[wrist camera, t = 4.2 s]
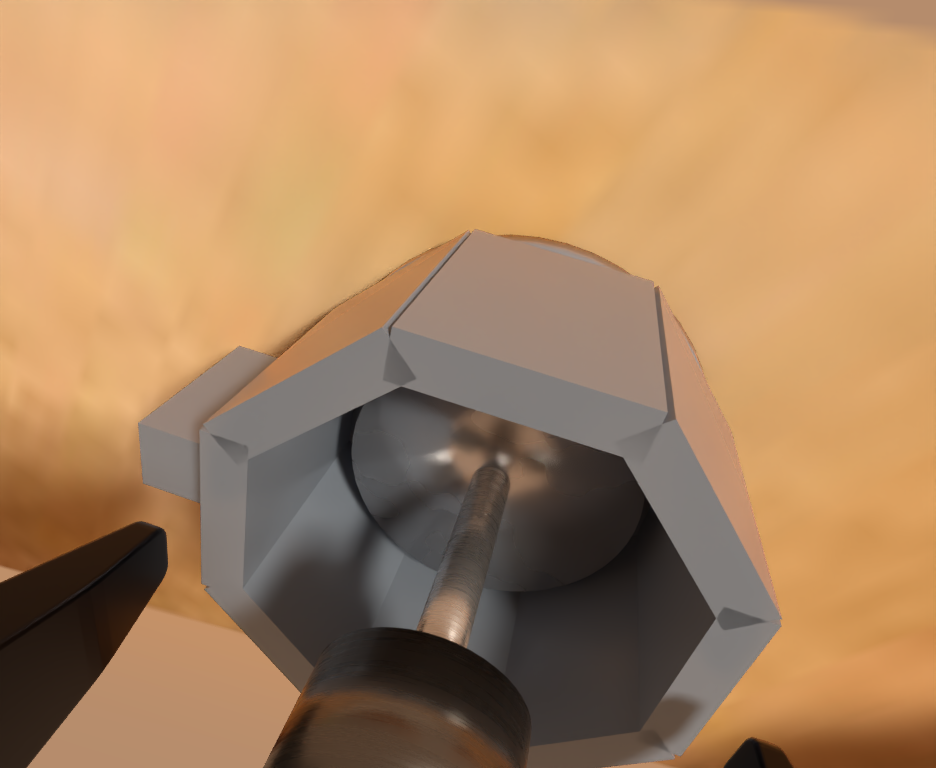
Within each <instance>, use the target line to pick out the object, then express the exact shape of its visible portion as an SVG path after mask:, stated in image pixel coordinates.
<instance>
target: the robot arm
mask: <svg viewBox="0 0 936 768" xmlns="http://www.w3.org/2000/svg"><path fill="white" fill-rule="evenodd" d="M167 567H168V554H167V537H166V532H165V531H164V529H162V528H160V527H157V526H155V525H152V524H149V523H146V522H135V523H132V524H130V525H128V526H125V527H123V528H121V529H119V530H116V531H114V532H112V533H110V534H108V535H105V536H103V537H101V538H99V539H96V540H94V541H92V542H90V543H87V544H85V545H83V546H81V547H79V548H76V549H74V550H72V551H70V552H67V553H65V554H63V555H61V556H59V557H56V558H54V559H52V560H50V561H47V562H45V563H43V564H41V565H38V566H36V567H34V568H32V569H30V570H27V571H25V572H23V573H21V574H18V575H16V576H14V577H12V578H10V579H7V580H5V581H3V582H1V583H0V768H27V767H28V765H29V764H30V763H31V762H32V760H33V759H34V758H35V757H36V755H37V754H38V753H39V751H40V750H41V749H42V748H43V746H44V745H45V744H46V743H47V741H48V740H49V739H50V738H51V736H52V735H53V734H54V733H55V731H56V730H57V729H58V728H59V726H60V725H61V724H62V723H63V721H64V720H65V719H66V718H67V716H68V715H69V714H70V713H71V711H72V710H73V708H74V707H75V706H76V705H77V704H78V702H79V701H80V700H81V699H82V697H83V696H84V695H85V694H86V692H87V691H88V690H89V689H90V687H91V686H92V684H94V682H95V681H96V680H97V678H98V677H99V676H100V674H101V673H102V672H103V670H104V669H105V667H106V666H107V664H108V663H109V662H110V660H111V659H112V657H113V656H114V654H115V653H116V651H117V650H118V648H119V646H120V645H121V643H122V642H123V640H124V639H125V637H126V636H127V634H128V632H129V631H130V630H131V628H132V626H133V625H134V623H135V622H136V620H137V619H138V617H139V616H140V614H141V612H142V611H143V609H144V608H145V606H146V605H147V603H148V602H149V600H150V599H151V597H152V596H153V594H154V593H155V591H156V589H157V588H158V586H159V585H160V583H161V582H162V580H163V578H164V576H165V574H166V571H167ZM724 768H794V767H793V765H792V764H791V762H790V760H789V759H788V757H787V755H786V754H785V753H784V751H783V750H782V749H781V748H780V747H778V746H776V745H774V744H772V743H769V742H766V741H763V740H760V739H757V738H754V737H751V738H748V739H746V740H745V741H744V743H743V744H742V745H741V746H740V747H739V748H738V750H737V751H736V752H735V753H734V754H733V756H732V757H731V758H730V759H729V760H728V761H727V763H726V764H725V766H724Z"/></svg>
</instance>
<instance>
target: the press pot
mask: <svg viewBox="0 0 936 768" xmlns="http://www.w3.org/2000/svg"><path fill="white" fill-rule="evenodd" d="M401 386H402V387H405V388H408V389H411V390H415V391H418V392H421V393H424V394H427V395H430V396H433V397H436V398H440V399H443V400H446V401H449V402H452V403H455V404H458V405H461V406H465V407H468V408H471V409H474V410H477V411H480V412H483V413H486V414H490V415H493V416H496V417H499V418H502V419H505V420H508V421H511V422H515V423H518V424H521V425H524V426H527V427H530V428H533V429H536V430H540V431H543V432H546V433H549V434H552V435H555V436H558V437H561V438H565V439H568V440H571V441H574V442H577V443H580V444H583V445H586V446H589V447H593V448H596V449H599V450H602V451H605V452H608V453H611V454H614V455H618V456H621V457H623V458H624V460H625V461H626V463H627V465H628V467H629V468H630V470H631V472H632V473H633V475H634V477H635V479H636V480H637V482H638V484H639V486H640V487H641V489H642V491H643V493H644V494H645V496H644V504H643V509H642V513H641V517H640V520H639V522H638V525H637V527H636V529H635V531H634V533H633V535H632V536H631V538H630V540H629V541H628V543H627V544H626V545H625V547H624V548H623V549H622V550H621V551H620V552H619V554H618V555H617V556H616V557H615V558H613V559H612V560H611V561H610V562H609V563H608V564H606V565H605V566H604V567H602V568H601V569H599V570H598V571H596V572H594V573H593V574H591V575H589V576H587V577H585V578H583V579H581V580H578V581H576V582H573V583H570V584H567V585H564V586H561V587H556V588H551V589H546V590H537V591H503V590H493V589H488V588H483V590H482V594H481V598H480V601H479V605H478V609H477V613H476V616H475V620H474V624H473V627H472V631H471V635H470V639H469V642H468V646H467V649H469V650H471V651H473V652H474V653H476V654H477V655H479V656H481V657H482V658H484V659H485V660H487V661H488V662H489V663H491V664H492V665H493V666H495V667H496V668H497V669H498V670H499V671H501V672H502V673H503V674H504V675H505V676H506V677H507V678H508V679H509V680H510V681H511V683H512V684H513V685H514V686H515V687H516V688H517V690H518V691H519V693H520V694H521V696H522V697H523V699H524V701H525V703H526V705H527V707H528V710H529V713H530V717H531V724H532V732H531V739H530V746H529V753H528V760H527V767H526V768H602V767H611V766H619V765H628V764H637V763H646V762H654V761H663V760H672V759H675V755H678V756H681V755H682V754H683V753H684V752H685V750H686V749H687V748H688V746H689V745H690V744H691V742H692V741H693V740H694V739H695V737H696V736H697V735H698V733H699V732H700V731H701V729H702V728H703V727H704V726H705V724H706V723H707V722H708V720H709V719H710V718H711V717H712V715H713V714H714V713H715V711H716V710H717V709H718V707H719V706H720V705H721V704H722V702H723V701H724V700H725V698H726V697H727V696H728V694H729V693H730V692H731V691H732V689H733V688H734V687H735V685H736V684H737V683H738V682H739V680H740V679H741V678H742V676H743V675H744V674H745V672H746V671H747V670H748V669H749V667H750V666H751V665H752V663H753V662H754V661H755V660H756V658H757V657H758V656H759V654H760V653H761V652H762V650H763V649H764V648H765V647H766V645H767V644H768V643H769V641H770V640H771V639H772V637H773V636H774V635H775V634H776V632H777V631H778V630H779V628H780V627H781V622H780V619H782V617H781V613H780V610H779V606H778V602H777V599H776V595H775V591H774V588H773V584H772V580H771V576H770V573H769V569H768V565H767V562H766V558H765V554H764V551H763V547H762V543H761V539H760V536H759V532H758V528H757V525H756V521H755V517H754V514H753V510H752V506H751V503H750V499H749V495H748V491H747V488H746V484H745V480H744V477H743V473H742V469H741V466H740V462H739V458H738V454H737V451H736V447H735V443H734V440H733V436H732V432H731V430H730V428H729V426H728V424H727V422H726V420H725V418H724V416H723V414H722V412H721V410H720V408H719V406H718V404H717V402H716V400H715V398H714V396H713V394H712V392H711V390H710V388H709V386H708V384H707V382H706V380H705V378H704V373H703V369H702V366H701V364H700V361H699V359H698V356H697V354H696V351H695V349H694V346H693V344H692V342H691V341H690V339H689V337H688V336H687V334H686V332H685V331H684V329H683V327H682V326H681V324H680V322H679V321H678V320H677V319H676V317H675V316H674V315H673V313H672V311H671V309H670V307H669V305H668V303H667V301H666V299H665V297H664V295H663V293H662V291H661V289H660V287H659V286H657V287H655V288H654V283H653V281H650V280H647V279H643V278H640V277H637V276H633V275H631V274H629V273H628V272H626V271H625V270H624V269H622V268H621V267H619V266H617V265H615V264H613V263H612V262H610V261H608V260H606V259H604V258H602V257H600V256H598V255H596V254H594V253H592V252H589V251H586V250H583V249H581V248H578V247H575V246H572V245H570V244H567V243H562V242H558V241H553V240H549V239H545V238H540V237H531V236H520V235H493V234H490V233H487V232H483V231H480V230H476V229H475V230H474V231H473V232H472V233H470V232H469V230H467V231H466V232H464V233H462V234H461V235H459V236H457V237H455V238H454V239H452V240H450V241H449V242H447V243H445V244H443V245H442V246H439V247H436V248H432V249H430V250H428V251H426V252H424V253H422V254H420V255H418V256H416V257H414V258H412V259H410V260H409V261H407V262H406V263H404V264H403V265H401V266H400V267H398V268H397V269H395V270H394V271H393V272H391V273H390V274H389V275H388V276H387V277H386V278H385V279H383V280H382V281H380V282H378V283H377V284H375V285H373V286H372V287H370V288H368V289H366V290H365V291H363V292H361V293H360V294H358V295H356V296H354V297H353V298H351V299H349V300H348V301H346V302H344V303H342V304H341V305H339V306H337V307H336V308H334V309H333V310H332V311H331V312H330V313H329V314H327V315H326V316H325V317H324V318H323V319H322V320H321V321H319V322H318V323H317V324H316V325H315V326H314V327H313V328H312V329H310V330H309V331H308V332H307V333H306V334H305V335H304V336H302V337H301V338H300V339H299V340H298V341H297V342H296V343H294V344H293V345H292V346H291V347H290V348H289V349H288V350H287V351H285V352H284V353H283V354H282V355H281V356H280V357H279V358H275V357H272V356H269V355H266V354H263V353H260V352H257V351H254V350H251V349H248V348H244V347H241V346H239V347H237V348H236V349H235V350H233V351H232V352H231V353H230V354H228V355H227V356H226V357H224V358H223V359H222V360H220V361H219V362H218V363H216V364H215V365H214V366H212V367H211V368H210V369H208V370H207V371H206V372H205V373H203V374H202V375H201V376H199V377H198V378H197V379H195V380H194V381H193V382H191V383H190V384H189V385H187V386H186V387H185V388H184V389H182V390H181V391H180V392H178V393H177V394H176V395H174V396H173V397H172V398H170V399H169V400H168V401H166V402H165V403H164V404H163V405H161V406H160V407H159V408H157V409H156V410H155V411H153V412H152V413H151V414H149V415H148V416H147V417H145V418H144V419H143V420H141V421H140V422H139V423H138V426H139V439H140V452H141V464H142V477H143V484H146V485H149V486H152V487H155V488H158V489H161V490H163V491H166V492H169V493H172V494H175V495H178V496H181V497H184V498H186V499H189V500H192V501H195V502H198V503H200V510H201V584H204V585H206V588H205V589H204V590H205V591H206V592H207V593H208V594H209V595H210V596H211V597H212V598H213V599H214V600H215V601H216V602H217V604H218V605H219V606H220V607H221V608H222V609H223V610H224V611H225V612H226V613H227V614H228V615H229V616H230V617H231V619H232V620H233V621H234V622H235V623H236V624H237V625H238V626H239V627H240V628H241V629H242V630H243V631H244V632H245V634H246V635H247V636H248V637H249V638H250V639H251V640H252V641H253V642H254V643H255V644H256V645H257V646H258V647H259V648H260V650H261V651H262V652H263V653H264V654H265V655H266V656H267V657H268V658H269V659H270V660H271V661H272V662H273V664H274V665H275V666H276V667H277V668H278V669H279V670H280V671H281V672H282V673H283V674H284V675H285V676H286V677H287V678H288V680H289V681H290V682H291V683H292V684H293V685H294V686H295V687H296V688H297V689H298V690H299V691H300V692H302V690H303V688H304V686H305V685H306V683H307V681H308V679H309V677H310V675H311V673H312V671H313V669H314V667H315V665H316V663H317V661H318V659H319V657H320V655H321V653H322V652H323V650H324V649H325V648H326V647H327V646H328V645H329V644H330V643H331V642H333V641H334V640H335V639H337V638H339V637H341V636H342V635H344V634H347V633H350V632H353V631H356V630H361V629H366V628H375V627H397V628H405V629H412V630H416V629H417V626H418V623H419V621H420V618H421V615H422V613H423V610H424V607H425V604H426V602H427V599H428V596H429V593H430V591H431V588H432V585H433V582H434V580H435V577H436V574H437V571H435V570H433V569H431V568H429V567H427V566H426V565H424V564H423V563H421V562H420V561H418V560H416V559H415V558H413V557H412V556H411V555H409V554H408V553H407V552H406V551H404V550H403V549H402V548H400V547H399V546H398V545H397V544H396V543H395V542H394V541H393V540H392V539H391V538H390V537H389V536H388V535H387V534H386V533H385V532H384V530H383V529H382V528H381V527H380V526H379V525H378V523H377V522H376V520H375V519H374V517H373V516H372V515H371V513H370V512H369V510H368V508H367V506H366V504H365V502H364V501H363V499H362V497H361V494H360V491H359V489H358V486H357V483H356V480H355V475H354V471H353V465H352V439H353V434H354V429H355V425H356V422H357V419H358V417H359V414H360V412H361V410H362V408H363V406H364V405H365V403H367V402H369V401H371V400H374V399H376V398H378V397H380V396H382V395H384V394H386V393H388V392H390V391H392V390H394V389H397V388H399V387H401ZM674 754H675V755H674Z"/></svg>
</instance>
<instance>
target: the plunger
mask: <svg viewBox="0 0 936 768" xmlns="http://www.w3.org/2000/svg"><path fill="white" fill-rule="evenodd" d="M352 465H353V471H354V475H355V480H356V483H357V486H358V489H359V491H360V494H361V497H362V499H363V501H364V502H365V504H366V506H367V508H368V510H369V512H370V513H371V515H372V516H373V517H374V519H375V520H376V522H377V523H378V525H379V526H380V527H381V528H382V529H383V530H384V532H385V533H386V534H387V535H388V536H389V537H390V538H391V539H392V540H393V541H394V542H395V543H396V544H397V545H398V546H399V547H400V548H402V549H403V550H404V551H406V552H407V553H408V554H409V555H411V556H412V557H413V558H415V559H416V560H418V561H420V562H421V563H423V564H424V565H426V566H427V567H429V568H431V569H433V570H435V571H437V574H436V577H435V580H434V582H433V585H432V588H431V591H430V593H429V596H428V599H427V602H426V604H425V607H424V610H423V613H422V615H421V618H420V621H419V623H418V626H417V629H416V630H412V629H405V628H397V627H375V628H366V629H361V630H356V631H353V632H350V633H347V634H344V635H342V636H341V637H339V638H337V639H335V640H334V641H333V642H331V643H330V644H329V645H328V646H327V647H326V648H325V649H324V650H323V652H322V653H321V655H320V657H319V659H318V661H317V663H316V665H315V667H314V669H313V671H312V673H311V675H310V677H309V679H308V681H307V683H306V685H305V686H304V688H303V690H302V692H301V694H300V696H299V698H298V700H297V702H296V704H295V706H294V708H293V710H292V712H291V714H290V716H289V718H288V720H287V722H286V724H285V726H284V728H283V730H282V732H281V734H280V736H279V738H278V740H277V742H276V744H275V746H274V747H273V749H272V751H271V753H270V755H269V757H268V759H267V761H266V763H265V766H264V767H263V768H526V767H527V760H528V753H529V746H530V739H531V732H532V724H531V717H530V713H529V710H528V707H527V705H526V703H525V701H524V699H523V697H522V696H521V694H520V693H519V691H518V690H517V688H516V687H515V686H514V685H513V684H512V683H511V681H510V680H509V679H508V678H507V677H506V676H505V675H504V674H503V673H502V672H501V671H499V670H498V669H497V668H496V667H495V666H493V665H492V664H491V663H489V662H488V661H487V660H485V659H484V658H482V657H481V656H479V655H477V654H476V653H474V652H473V651H471V650H469V649H467V646H468V642H469V639H470V635H471V631H472V627H473V624H474V620H475V616H476V613H477V609H478V605H479V601H480V598H481V594H482V590H483V588H488V589H493V590H503V591H537V590H546V589H551V588H556V587H561V586H564V585H567V584H570V583H573V582H576V581H578V580H581V579H583V578H585V577H587V576H589V575H591V574H593V573H594V572H596V571H598V570H599V569H601V568H602V567H604V566H605V565H606V564H608V563H609V562H610V561H611V560H612V559H613V558H615V557H616V556H617V555H618V554H619V552H620V551H621V550H622V549H623V548H624V547H625V545H626V544H627V543H628V541H629V540H630V538H631V536H632V535H633V533H634V531H635V529H636V527H637V525H638V522H639V520H640V517H641V513H642V509H643V504H644V496H645V494H644V493H643V491H642V489H641V487H640V486H639V484H638V482H637V480H636V479H635V477H634V475H633V473H632V472H631V470H630V468H629V467H628V465H627V463H626V461H625V460H624V458H623V457H621V456H618V455H614V454H611V453H608V452H605V451H602V450H599V449H596V448H593V447H589V446H586V445H583V444H580V443H577V442H574V441H571V440H568V439H565V438H561V437H558V436H555V435H552V434H549V433H546V432H543V431H540V430H536V429H533V428H530V427H527V426H524V425H521V424H518V423H515V422H511V421H508V420H505V419H502V418H499V417H496V416H493V415H490V414H486V413H483V412H480V411H477V410H474V409H471V408H468V407H465V406H461V405H458V404H455V403H452V402H449V401H446V400H443V399H440V398H436V397H433V396H430V395H427V394H424V393H421V392H418V391H415V390H411V389H408V388H405V387H402V386H401V387H399V388H397V389H394V390H392V391H390V392H388V393H386V394H384V395H382V396H380V397H378V398H376V399H374V400H371V401H369V402H367V403H365V405H364V406H363V408H362V410H361V412H360V414H359V417H358V419H357V422H356V425H355V429H354V434H353V439H352Z"/></svg>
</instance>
